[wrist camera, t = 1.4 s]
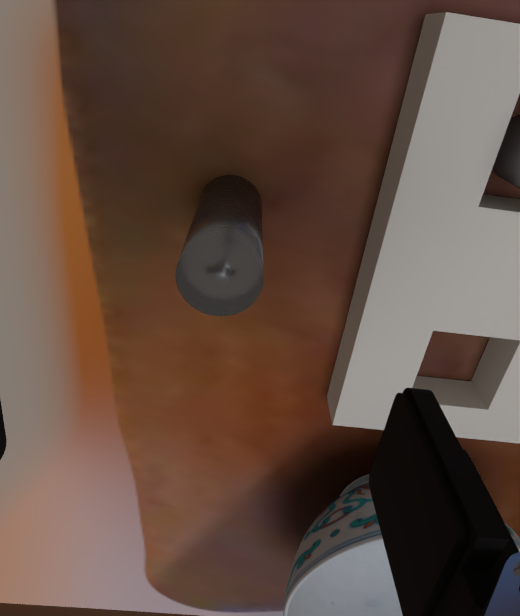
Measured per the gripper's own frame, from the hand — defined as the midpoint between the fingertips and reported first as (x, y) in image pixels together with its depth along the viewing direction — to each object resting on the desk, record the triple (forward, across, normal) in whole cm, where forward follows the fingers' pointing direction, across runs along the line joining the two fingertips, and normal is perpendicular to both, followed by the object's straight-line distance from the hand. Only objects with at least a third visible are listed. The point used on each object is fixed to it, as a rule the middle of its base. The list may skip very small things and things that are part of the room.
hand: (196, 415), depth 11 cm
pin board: (+14, -13, 0) cm, 19 cm away
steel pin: (+14, 0, -1) cm, 14 cm away
